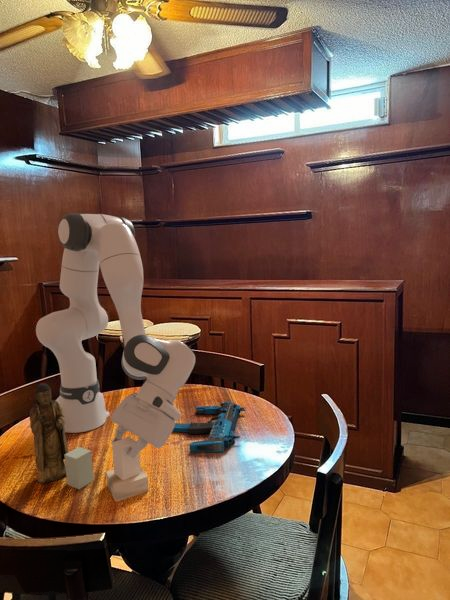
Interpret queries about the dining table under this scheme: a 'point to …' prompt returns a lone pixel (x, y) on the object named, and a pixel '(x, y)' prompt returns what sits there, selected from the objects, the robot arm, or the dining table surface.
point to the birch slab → (126, 485)
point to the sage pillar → (79, 467)
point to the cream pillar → (125, 459)
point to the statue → (48, 435)
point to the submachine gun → (213, 427)
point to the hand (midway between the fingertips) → (122, 451)
